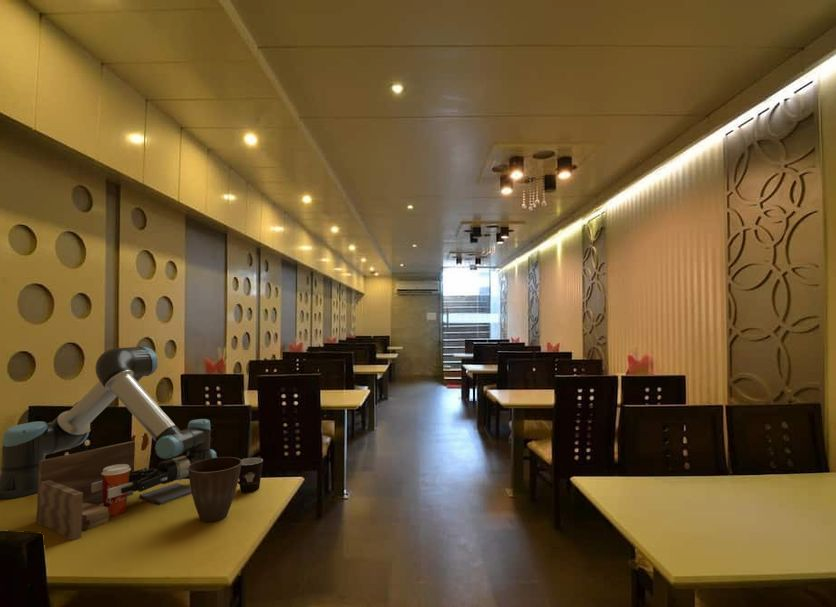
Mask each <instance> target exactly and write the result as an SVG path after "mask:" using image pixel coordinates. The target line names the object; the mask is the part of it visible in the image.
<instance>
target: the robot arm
mask: <svg viewBox="0 0 836 607" xmlns="http://www.w3.org/2000/svg"><path fill="white" fill-rule="evenodd" d="M158 362H159V358H158V355H157V353H156V352H155V351H154V350H153V349H152V348H150V347H147V346H131V347H129V346H128V347H114V348H110V349H108V350H106V351H104V352H103V353H102V354H100V356H99V357H98V358H97V360H96V362H95V367H94V368H95V374H96V377H97V379H98V382H97V383H96V384H95V385H94V386H93V387H92V388H91V389H90V390H89V391H88V392H87V393H86V394H84V396H83V397H82V398H81V399H80V400H79V401H77V403H76V404H75V405H74V406H73V407H72V408H71V409H69V410H66V411H62V412H61V413H60V414H59V415H58V416H57V417H56V418H55V419H54V420H53V421H50V422H45V421H39V420H38V421H31V422H26V423H21V424H17V425H14V426H11V427H10V428H9V427H8V428H7V429H5V431H4V433H3V437H2V441H1V445H2V446H1V464H0V466H1V467H0V500H6V499H7V500H8V499H14V498H21V497H22V498H23V497H26V496H30V495H33V494H38V480H39V461H40V460H45V459H46V456H48V455H52V454H55V453H57V452H58V453H59V452H62V451H66V450H71V449H74V448H76V447H77V446H80V445H81V444H83V443H84V442H85V441H86V440H87V438H88V437H89V435H90V433H89V432H90V428H91V423H92V422H93V421H94V420H95V419H96V418H97V416H99V415H100V414H101V413H102V412H103V411H104V410H105V409H106V408H107V407H108V406H109V405H110V404H111V403H112V402H113V401H115V399H116V398H118V399H119V401H121V403H122V405H124V406H125V408H126V409H127V411H129V412H130V413H131V415H132V416H133V417H134V418H135V419H136V420H137V421H138V423H139V424H140V425H141V426H142V427H143V428H144V429H145V431H146V432H147V433H148V434H149V435H150V436H151V438H152V439H153V440H154V441H155V442H156V443H155V446H154V450H155V454H156V455H157V457H159V458H160V459H164V460H163V461H160V462H159V463H158V464H157V465H156V468H149V469H148V468H147V467H145V468H142V469H138V470H134V471H132V472H129V482H128V483H127V484H124V485H121V486H117V487H114V488H110V489H108V495H107V498H108V499H110V498H113V497H116V496H119V495H123V494H126V493H129V492H132V491H133V493H135V492H137V491H138V492H139V493H141V492H145V491H146V490H149V489H151V488H154V487H157V486H159V485H166V484H169V483H172V482H174V481H182V480H183V479H184V478H189V471H188V467H189V466H190V465H191V464H193V463H195V462H198V461H201V460H205V459H210V458H217V457H218V456H217V452H216V450H214V449H212V448H211V431H212V429H211V421H210V419H207V418H199V419H192V420H190V421H189V422H188V423H187V424H188V425H187V426H186V427H187V428H186V429H183V430H180V428H179V427H178V426H177V425H176V424H175V423H174V422H173V421H172V419H171V418H170V417H169V415H167V413H165V412H164V410H163V409H162V408H161V407H160V405H158V403H157V402H156V401H155V399H153V397H152V396H151V395H150V394H149V393H148V391H146V389H145V388H144V387H143V386H142V385H141V384H140V382H139V381H140V380H142V378H143V377H149V376H152V375H153V374H154V373H155V372H156V370H157V369H158V365H159V363H158ZM184 453H187V454H186V455H182V454H184ZM179 455H181V456H179ZM130 482H133V485H132V483H130ZM100 490H103V481H99V482H95V483H92V486H91V492H92V493H93V492H97V491H100Z"/></svg>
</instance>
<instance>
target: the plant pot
mask: <svg viewBox="0 0 836 607" xmlns="http://www.w3.org/2000/svg"><path fill="white" fill-rule="evenodd" d="M216 457H217V458H210V459H205V460H201V461H198V462H195V463H193V464H191V465H190V466H189V467H188V471H189V476H188V478H189V487H191V491H192V494H191V497H192V500H193V503H194V507H195V509H196V512H197V515H198V518H199V519H200V521H201V522H202V523H215V522H219V521H222V520H223V519H225V518H227V516H228V513H229V511H230V508H231V505H233V504H232V503H233V501H234V498H235V494H236V490H237V487H238V485H239V484H238V481H239V475H240V469H241V463H242V461H241V460H242V459H240V458H238V457H233V456H219V457H218V456H216ZM221 519H222V520H221Z"/></svg>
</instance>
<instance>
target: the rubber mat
mask: <svg viewBox="0 0 836 607" xmlns="http://www.w3.org/2000/svg"><path fill="white" fill-rule="evenodd" d="M190 495H192V491H191V486H190V485H185V484H181V483H179V482H176V483H173V484H169V485H166V486H163V487H160V488H156V489H153V490H150V491H147V492H145V493H140V494H139V495H138V497H139V498H141V497H142V498H141V499H143V498H145V499H144V500H146V499H147V501H149V500H150V501H149V502H152V501H153V503H155V504H158V505H163V504H166V503H169V502H173V501H175V500H177V499H180V498H184V497H185V496H186V497H187V496H190Z"/></svg>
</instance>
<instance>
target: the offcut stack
mask: <svg viewBox="0 0 836 607" xmlns="http://www.w3.org/2000/svg"><path fill="white" fill-rule="evenodd" d="M109 517H110V516H109V511H108V507H104V506H103V505H100V504H99V505H94V504H89V503H84V502H83V506H82V528H81V530H83V531H84V530H85V531H89V530H92V529H93V528H96V527H98V526H100V524H101V525H103V524H105V523H107V522H106V521H108V522H109ZM104 522H105V523H104ZM102 523H103V524H102Z"/></svg>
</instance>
